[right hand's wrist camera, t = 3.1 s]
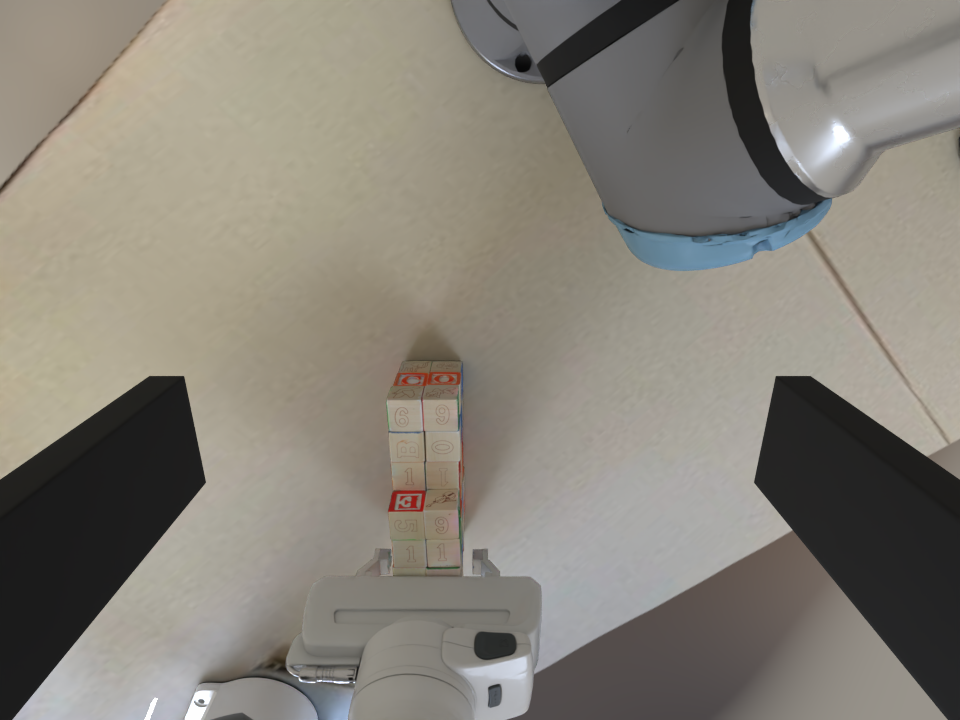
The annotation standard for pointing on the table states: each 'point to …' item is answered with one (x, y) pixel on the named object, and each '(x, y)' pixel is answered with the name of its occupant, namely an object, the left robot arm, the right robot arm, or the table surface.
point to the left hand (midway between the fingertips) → (432, 554)
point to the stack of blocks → (427, 469)
